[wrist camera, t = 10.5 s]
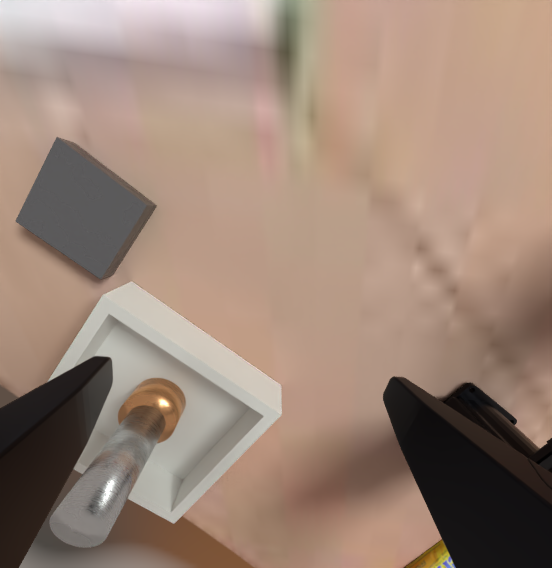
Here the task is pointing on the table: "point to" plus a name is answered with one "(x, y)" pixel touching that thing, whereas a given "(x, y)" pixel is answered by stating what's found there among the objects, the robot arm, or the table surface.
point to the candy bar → (433, 558)
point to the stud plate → (84, 209)
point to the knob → (118, 464)
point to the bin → (194, 384)
